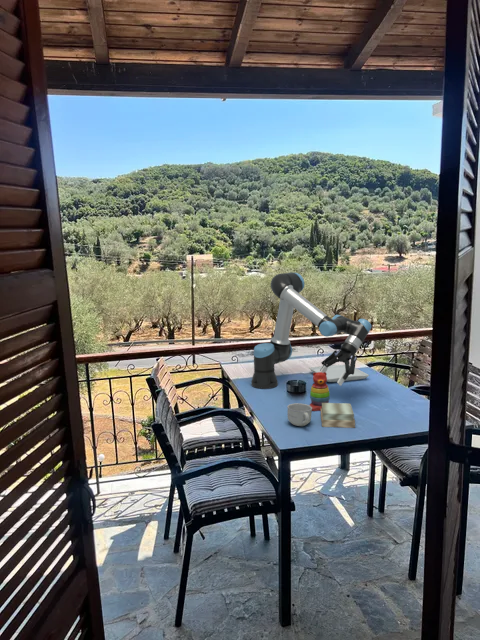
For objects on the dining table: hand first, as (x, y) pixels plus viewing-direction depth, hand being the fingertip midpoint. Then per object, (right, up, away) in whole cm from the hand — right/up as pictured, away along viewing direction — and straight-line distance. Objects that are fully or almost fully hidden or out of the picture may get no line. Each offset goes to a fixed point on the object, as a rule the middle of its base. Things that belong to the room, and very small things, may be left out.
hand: (328, 380), depth 208 cm
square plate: (+16, -5, +52) cm, 54 cm away
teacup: (-17, -17, -19) cm, 30 cm away
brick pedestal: (0, -16, -16) cm, 22 cm away
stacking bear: (-4, -13, +1) cm, 14 cm away
